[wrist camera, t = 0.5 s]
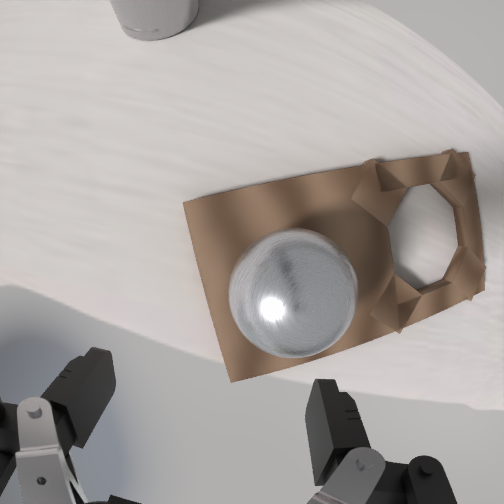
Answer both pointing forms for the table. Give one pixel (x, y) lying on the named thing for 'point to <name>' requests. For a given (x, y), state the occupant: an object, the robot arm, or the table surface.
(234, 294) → the steel ball
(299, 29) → the table surface
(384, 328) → the wooden board
